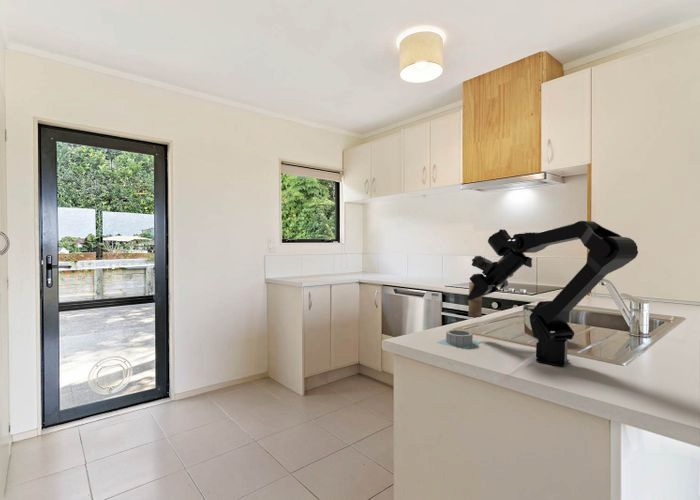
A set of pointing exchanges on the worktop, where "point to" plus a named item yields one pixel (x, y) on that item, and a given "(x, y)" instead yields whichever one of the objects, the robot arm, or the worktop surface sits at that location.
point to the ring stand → (459, 339)
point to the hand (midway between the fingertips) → (471, 298)
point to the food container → (528, 320)
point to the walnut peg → (475, 304)
